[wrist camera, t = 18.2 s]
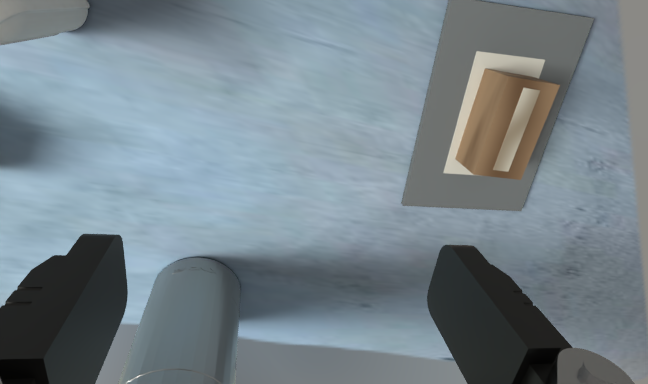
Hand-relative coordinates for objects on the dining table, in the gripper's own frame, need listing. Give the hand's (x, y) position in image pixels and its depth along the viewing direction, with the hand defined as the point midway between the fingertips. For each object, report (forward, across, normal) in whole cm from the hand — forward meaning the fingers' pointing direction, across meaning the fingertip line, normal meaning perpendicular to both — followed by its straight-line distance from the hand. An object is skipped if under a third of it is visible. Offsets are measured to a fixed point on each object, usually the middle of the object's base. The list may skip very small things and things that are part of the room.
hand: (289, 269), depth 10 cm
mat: (+28, -22, +2) cm, 36 cm away
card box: (+27, -22, +2) cm, 35 cm away
